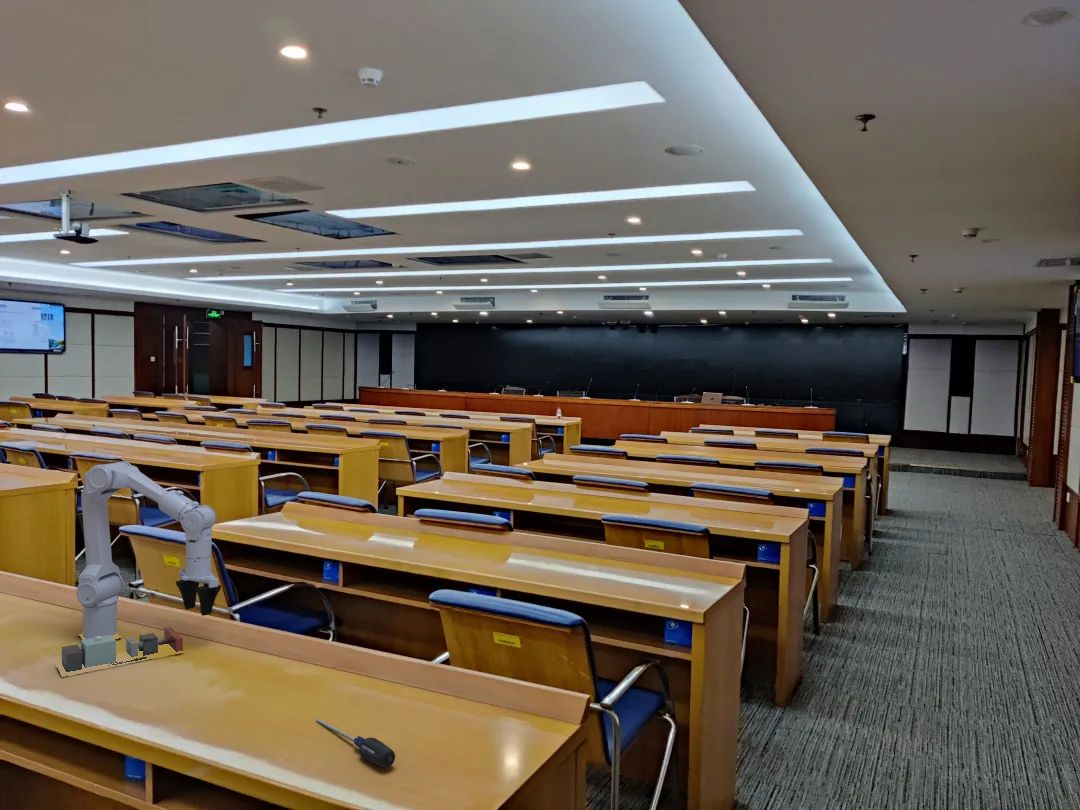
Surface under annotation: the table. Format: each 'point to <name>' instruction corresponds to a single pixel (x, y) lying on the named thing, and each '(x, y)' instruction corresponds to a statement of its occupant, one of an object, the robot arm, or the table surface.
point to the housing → (98, 651)
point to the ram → (169, 638)
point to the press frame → (74, 662)
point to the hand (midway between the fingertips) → (198, 611)
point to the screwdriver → (368, 748)
